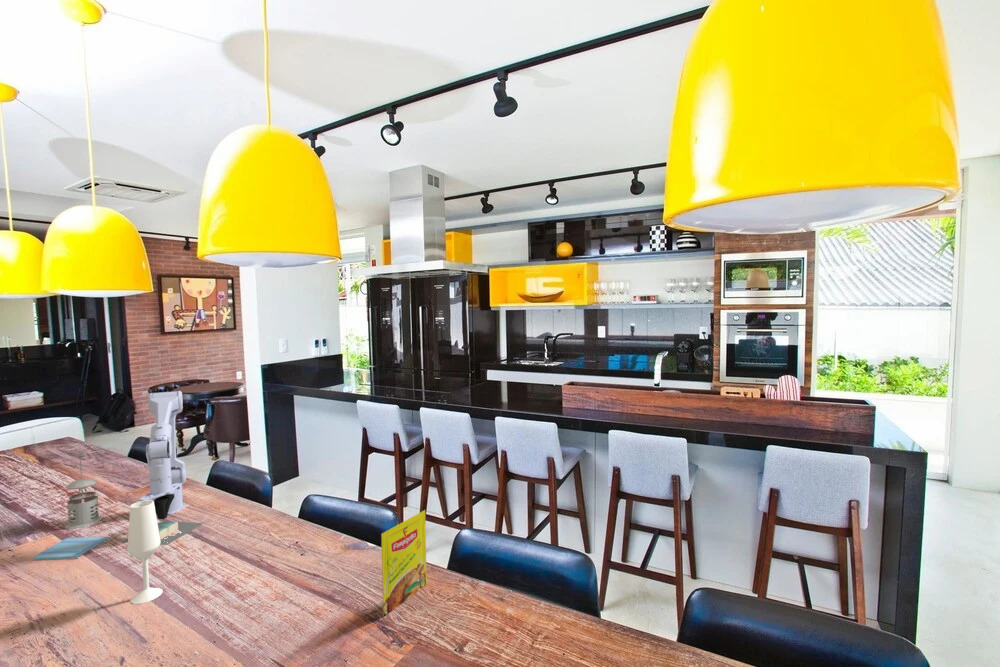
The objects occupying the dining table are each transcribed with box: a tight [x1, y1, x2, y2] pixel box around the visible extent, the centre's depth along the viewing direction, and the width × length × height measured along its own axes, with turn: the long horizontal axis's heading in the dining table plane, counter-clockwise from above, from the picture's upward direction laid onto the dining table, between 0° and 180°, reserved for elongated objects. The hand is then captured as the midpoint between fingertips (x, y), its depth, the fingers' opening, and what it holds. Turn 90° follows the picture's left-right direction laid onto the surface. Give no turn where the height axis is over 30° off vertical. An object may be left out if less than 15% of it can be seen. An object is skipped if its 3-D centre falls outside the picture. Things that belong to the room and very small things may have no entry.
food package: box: [380, 509, 428, 618], centre depth 115 cm, size 15×1×20 cm, turn 148°
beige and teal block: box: [157, 520, 179, 540], centre depth 151 cm, size 6×3×7 cm
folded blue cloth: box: [33, 536, 111, 561], centre depth 144 cm, size 14×12×1 cm
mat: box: [122, 520, 205, 546], centre depth 153 cm, size 16×15×1 cm
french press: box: [64, 451, 103, 530], centre depth 162 cm, size 10×12×25 cm
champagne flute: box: [127, 500, 164, 605], centre depth 118 cm, size 7×7×24 cm
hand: (162, 518), depth 152 cm, fingers closed
